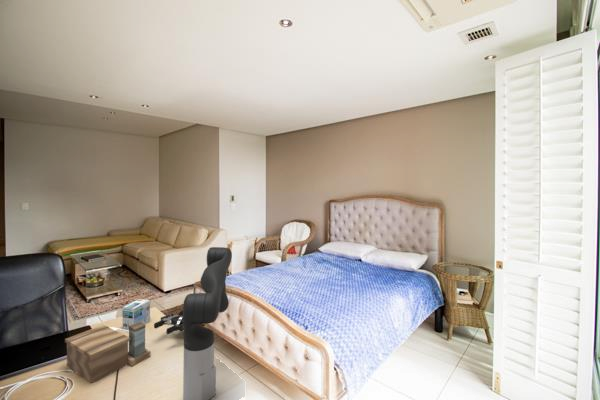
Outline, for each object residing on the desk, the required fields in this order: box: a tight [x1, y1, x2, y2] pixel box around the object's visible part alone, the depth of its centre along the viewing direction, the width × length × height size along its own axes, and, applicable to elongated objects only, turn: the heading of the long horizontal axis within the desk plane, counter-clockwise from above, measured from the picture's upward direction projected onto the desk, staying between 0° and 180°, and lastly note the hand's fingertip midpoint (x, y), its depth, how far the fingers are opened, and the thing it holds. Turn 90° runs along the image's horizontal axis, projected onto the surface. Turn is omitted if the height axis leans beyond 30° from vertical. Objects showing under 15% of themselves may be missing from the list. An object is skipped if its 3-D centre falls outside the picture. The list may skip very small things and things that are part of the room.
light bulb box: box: [121, 298, 151, 330], centre depth 134 cm, size 11×7×11 cm, turn 168°
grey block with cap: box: [128, 322, 146, 358], centre depth 108 cm, size 4×4×13 cm
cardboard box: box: [64, 324, 152, 384], centre depth 106 cm, size 21×20×10 cm
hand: (160, 328), depth 117 cm, fingers open, 8 cm apart
